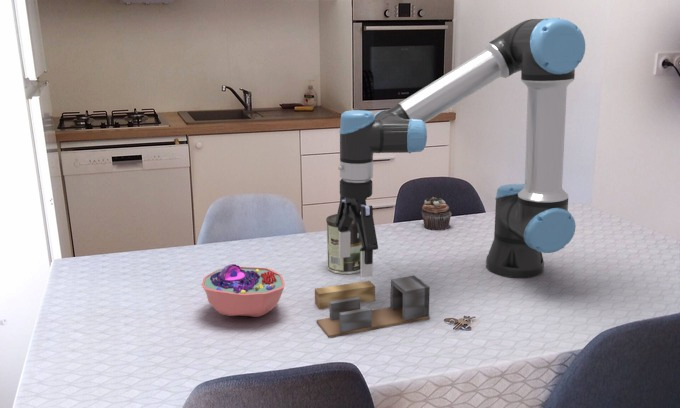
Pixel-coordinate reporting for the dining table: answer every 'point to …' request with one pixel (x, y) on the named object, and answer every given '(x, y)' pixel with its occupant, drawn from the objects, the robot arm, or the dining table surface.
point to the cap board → (379, 310)
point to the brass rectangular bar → (344, 293)
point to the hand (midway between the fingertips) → (355, 266)
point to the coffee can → (334, 262)
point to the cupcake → (436, 214)
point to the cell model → (243, 290)
